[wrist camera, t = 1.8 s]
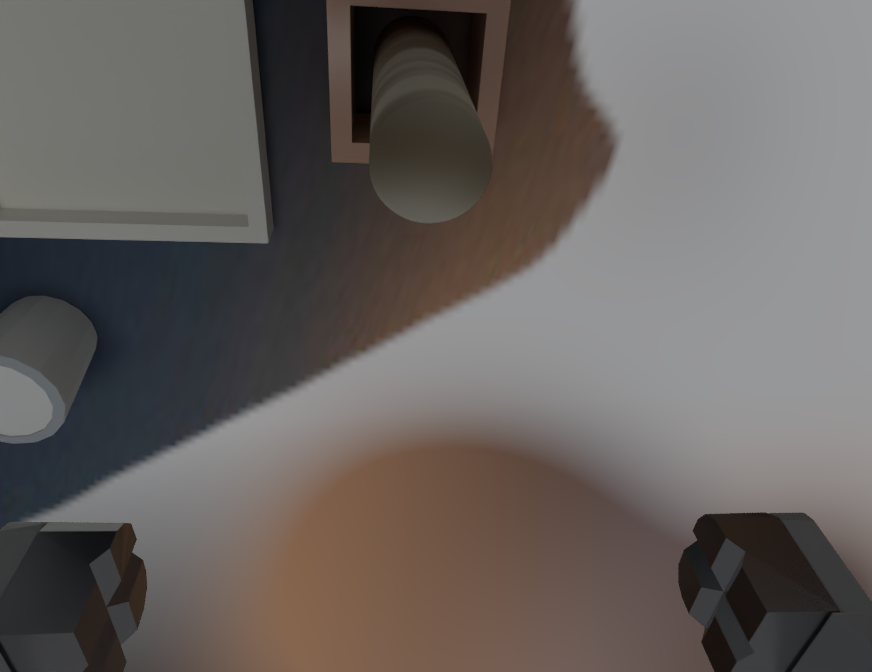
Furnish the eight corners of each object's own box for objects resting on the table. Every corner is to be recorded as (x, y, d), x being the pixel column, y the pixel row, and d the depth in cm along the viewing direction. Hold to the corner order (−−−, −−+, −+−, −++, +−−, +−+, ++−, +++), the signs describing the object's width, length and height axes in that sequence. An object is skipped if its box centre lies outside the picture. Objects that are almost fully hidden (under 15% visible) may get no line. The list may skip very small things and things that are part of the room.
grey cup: (-18, 280, 39) (-85, 347, 34) (100, 293, 40) (54, 360, 35) (5, 367, 43) (-52, 440, 37) (113, 376, 44) (73, 449, 39)
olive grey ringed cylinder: (374, 13, 32) (368, 99, 19) (452, 17, 33) (499, 105, 20) (373, 94, 34) (368, 221, 21) (446, 98, 35) (485, 224, 22)
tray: (-150, -175, 27) (-189, -180, 25) (239, -145, 28) (229, -147, 26) (-6, 219, 37) (-26, 236, 35) (273, 226, 39) (268, 243, 37)
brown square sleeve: (332, -35, 31) (325, -23, 27) (495, -25, 32) (512, -11, 28) (337, 130, 35) (331, 162, 31) (479, 136, 36) (491, 167, 32)
